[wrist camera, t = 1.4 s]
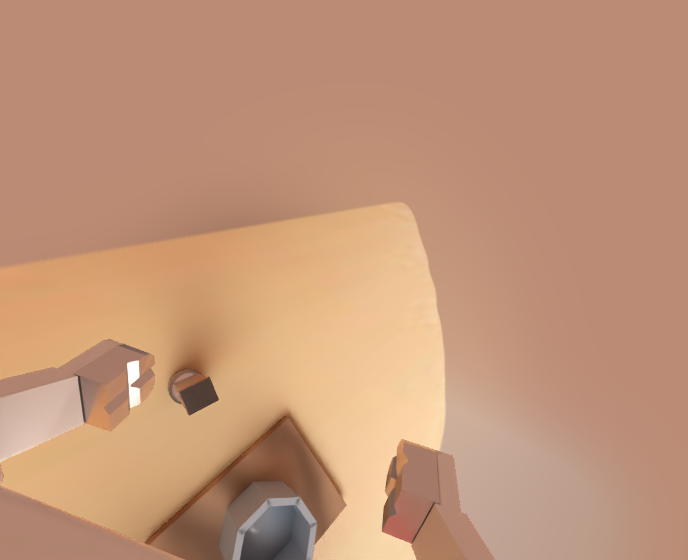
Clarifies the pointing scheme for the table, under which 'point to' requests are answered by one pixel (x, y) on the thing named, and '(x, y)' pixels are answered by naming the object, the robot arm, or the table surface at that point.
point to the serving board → (252, 466)
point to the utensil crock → (268, 525)
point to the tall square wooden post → (192, 390)
